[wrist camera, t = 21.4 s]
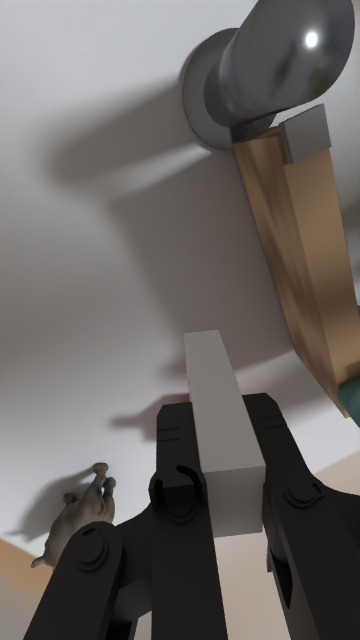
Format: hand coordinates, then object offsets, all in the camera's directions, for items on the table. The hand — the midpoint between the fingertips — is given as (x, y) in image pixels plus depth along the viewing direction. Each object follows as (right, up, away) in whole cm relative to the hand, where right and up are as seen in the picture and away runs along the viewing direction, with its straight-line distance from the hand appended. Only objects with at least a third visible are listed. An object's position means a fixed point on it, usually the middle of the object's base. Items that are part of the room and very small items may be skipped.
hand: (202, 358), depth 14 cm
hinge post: (+2, +15, +6) cm, 17 cm away
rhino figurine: (-12, -18, +22) cm, 31 cm away
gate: (+7, +6, +10) cm, 14 cm away
